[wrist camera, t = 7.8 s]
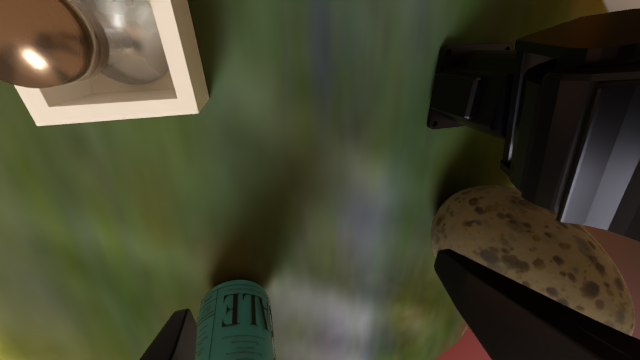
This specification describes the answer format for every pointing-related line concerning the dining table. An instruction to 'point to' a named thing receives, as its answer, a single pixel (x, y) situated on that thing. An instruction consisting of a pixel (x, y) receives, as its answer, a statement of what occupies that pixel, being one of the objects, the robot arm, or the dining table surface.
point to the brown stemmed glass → (79, 42)
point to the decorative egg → (535, 251)
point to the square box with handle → (126, 99)
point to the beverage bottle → (235, 323)
